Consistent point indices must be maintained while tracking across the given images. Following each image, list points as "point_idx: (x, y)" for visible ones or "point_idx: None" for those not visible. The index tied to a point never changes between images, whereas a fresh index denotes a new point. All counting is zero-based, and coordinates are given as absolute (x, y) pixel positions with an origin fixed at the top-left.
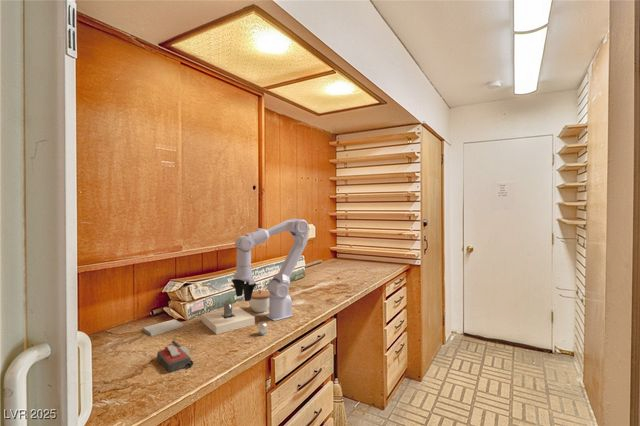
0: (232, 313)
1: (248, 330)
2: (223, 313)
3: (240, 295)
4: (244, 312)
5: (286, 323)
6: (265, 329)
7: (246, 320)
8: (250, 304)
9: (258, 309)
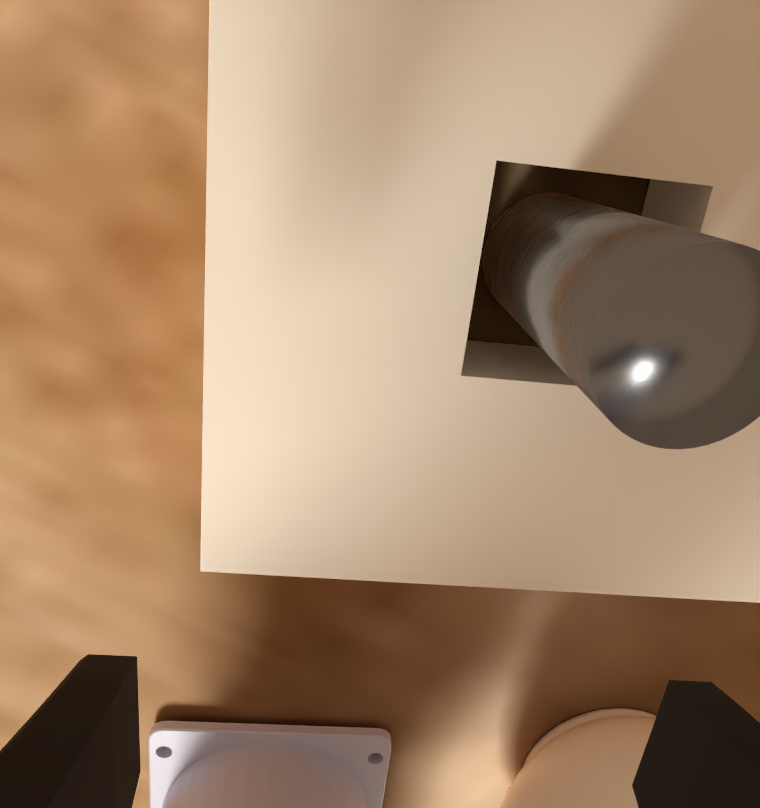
0: None
1: (74, 340)
2: None
3: (649, 767)
4: (505, 559)
5: None
6: None
7: (205, 427)
8: None
9: (539, 757)
